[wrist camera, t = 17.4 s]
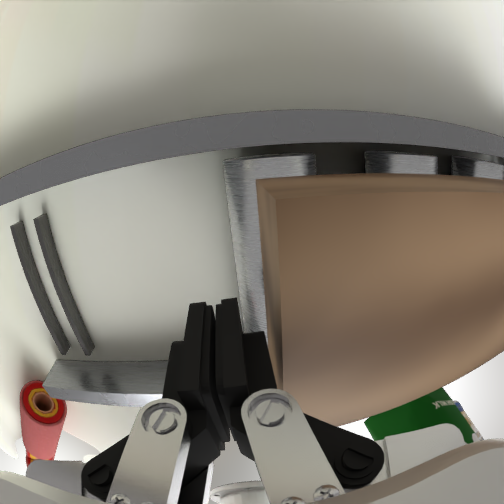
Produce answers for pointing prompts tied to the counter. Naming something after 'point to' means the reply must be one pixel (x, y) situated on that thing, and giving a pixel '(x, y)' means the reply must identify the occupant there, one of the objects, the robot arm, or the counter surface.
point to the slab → (379, 286)
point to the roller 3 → (476, 168)
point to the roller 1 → (255, 223)
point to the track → (171, 145)
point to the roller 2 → (400, 162)
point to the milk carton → (420, 417)
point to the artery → (40, 421)
